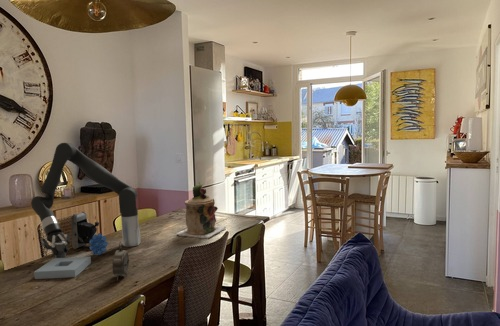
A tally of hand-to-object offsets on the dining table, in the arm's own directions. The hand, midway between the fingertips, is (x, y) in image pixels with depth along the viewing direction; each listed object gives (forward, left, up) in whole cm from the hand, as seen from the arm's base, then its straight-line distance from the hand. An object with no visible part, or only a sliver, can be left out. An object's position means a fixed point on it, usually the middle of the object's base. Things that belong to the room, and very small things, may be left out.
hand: (61, 253), depth 188 cm
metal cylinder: (+1, -1, -4) cm, 5 cm away
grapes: (-17, -7, -4) cm, 19 cm away
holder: (-8, +15, -4) cm, 17 cm away
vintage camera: (-5, -23, -4) cm, 24 cm away
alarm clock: (-39, +27, -4) cm, 47 cm away
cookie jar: (-68, -43, -4) cm, 80 cm away
